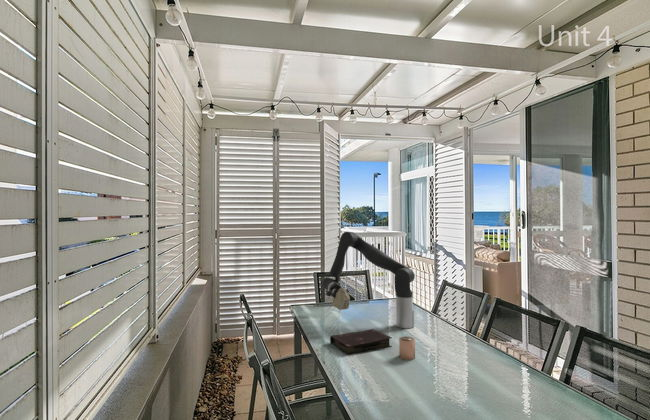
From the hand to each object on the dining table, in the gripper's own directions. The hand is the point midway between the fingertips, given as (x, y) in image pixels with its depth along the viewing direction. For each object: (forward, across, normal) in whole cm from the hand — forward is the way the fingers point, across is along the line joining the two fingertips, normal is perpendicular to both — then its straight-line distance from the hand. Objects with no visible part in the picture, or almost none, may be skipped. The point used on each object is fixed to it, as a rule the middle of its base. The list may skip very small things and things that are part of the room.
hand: (340, 295), depth 207 cm
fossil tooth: (+1, 0, +7) cm, 7 cm away
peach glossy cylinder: (+42, +23, +19) cm, 51 cm away
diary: (+24, +6, +20) cm, 32 cm away
